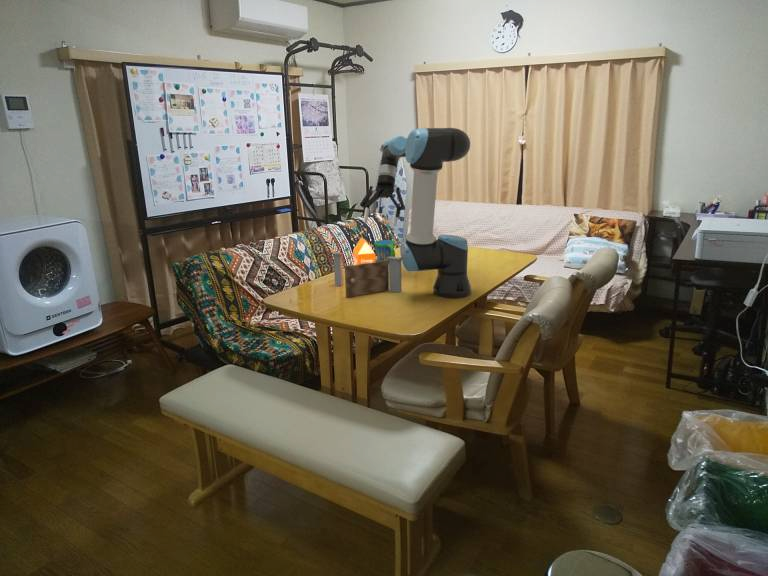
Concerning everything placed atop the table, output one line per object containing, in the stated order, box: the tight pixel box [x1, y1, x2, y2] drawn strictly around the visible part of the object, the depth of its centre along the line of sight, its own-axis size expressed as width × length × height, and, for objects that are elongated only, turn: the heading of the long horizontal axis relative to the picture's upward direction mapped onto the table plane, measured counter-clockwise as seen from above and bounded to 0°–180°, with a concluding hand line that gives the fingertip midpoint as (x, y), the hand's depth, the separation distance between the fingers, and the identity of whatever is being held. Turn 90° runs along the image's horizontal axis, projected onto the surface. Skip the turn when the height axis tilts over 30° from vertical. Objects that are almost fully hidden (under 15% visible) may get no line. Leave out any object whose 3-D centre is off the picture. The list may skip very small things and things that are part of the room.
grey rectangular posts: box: [332, 251, 402, 293], centre depth 220 cm, size 30×3×14 cm, turn 66°
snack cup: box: [373, 239, 397, 264], centre depth 266 cm, size 16×10×10 cm
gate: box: [344, 260, 390, 298], centre depth 212 cm, size 19×2×12 cm, turn 118°
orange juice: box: [352, 237, 376, 265], centre depth 225 cm, size 8×9×20 cm
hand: (379, 223), depth 228 cm, fingers open, 13 cm apart
